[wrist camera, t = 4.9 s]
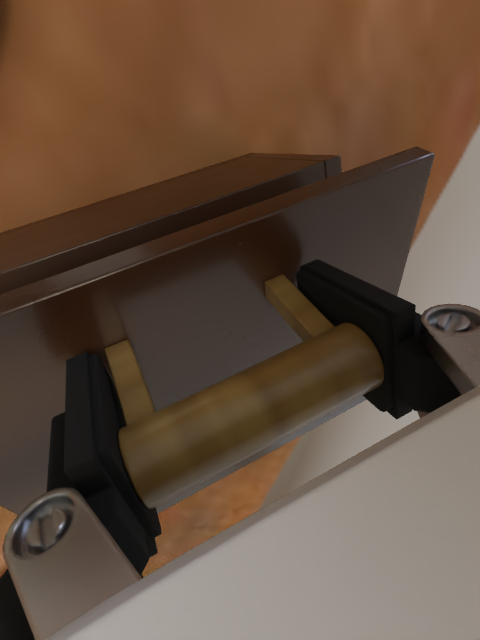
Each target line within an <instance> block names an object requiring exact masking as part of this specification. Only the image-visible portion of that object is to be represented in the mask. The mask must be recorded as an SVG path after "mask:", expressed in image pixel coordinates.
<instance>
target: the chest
mask: <svg viewBox="0 0 480 640" xmlns="http://www.w3.org/2000/svg"><path fill="white" fill-rule="evenodd" d="M340 173H342V169H341V157H340V156H335V155H302V154H270V153H250V154H246V155H243V156H240V157H237V158H234V159H231V160H228V161H225V162H221V163H218V164H215V165H212V166H209V167H206V168H203V169H199V170H196V171H193V172H190V173H187V174H184V175H181V176H178V177H174V178H171V179H168V180H165V181H162V182H159V183H156V184H152V185H149V186H146V187H143V188H140V189H137V190H134V191H130V192H127V193H124V194H121V195H118V196H115V197H112V198H109V199H105V200H102V201H99V202H96V203H93V204H90V205H87V206H83V207H80V208H77V209H74V210H71V211H68V212H65V213H62V214H58V215H55V216H52V217H49V218H46V219H43V220H40V221H36V222H33V223H30V224H27V225H24V226H21V227H18V228H14V229H11V230H8V231H5V232H2V233H0V295H2V294H4V293H7V292H10V291H13V290H16V289H18V288H21V287H24V286H27V285H30V284H32V283H35V282H38V281H41V280H44V279H46V278H49V277H52V276H55V275H58V274H60V273H63V272H66V271H69V270H72V269H74V268H77V267H80V266H83V265H86V264H88V263H91V262H94V261H97V260H100V259H102V258H105V257H108V256H111V255H114V254H116V253H119V252H122V251H125V250H128V249H130V248H133V247H136V246H139V245H142V244H144V243H147V242H150V241H153V240H156V239H158V238H161V237H164V236H167V235H170V234H172V233H175V232H178V231H181V230H184V229H186V228H189V227H192V226H195V225H198V224H200V223H203V222H206V221H209V220H212V219H214V218H217V217H220V216H223V215H226V214H228V213H231V212H234V211H237V210H240V209H242V208H245V207H248V206H251V205H254V204H256V203H259V202H262V201H265V200H268V199H270V198H273V197H276V196H279V195H282V194H284V193H287V192H290V191H293V190H295V189H298V188H301V187H304V186H307V185H309V184H312V183H315V182H318V181H321V180H323V179H326V178H329V177H332V176H335V175H337V174H340Z"/></svg>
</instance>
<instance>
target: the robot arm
mask: <svg viewBox="0 0 480 640" xmlns="http://www.w3.org/2000/svg"><path fill="white" fill-rule="evenodd" d="M296 280H297V287H298V290H299V291H300V292H301V293H302V294H303V295H304V296H305V297H306V298H307V299H308V300H309V301H310V302H311V303H312V304H313V305H314V306H315V307H316V308H317V309H318V310H319V311H320V312H321V313H322V314H323V315H324V316H325V317H326V318H327V319H328V320H329V321H330V322H331V323H332V324H333V325H334V326H337V325H339V324H341V323H352V324H355V325H356V326H358V327H359V328H361V329H362V330H363V331H364V332H365V333H366V334H367V335H368V336H369V337H370V338H371V340H372V341H373V343H374V344H375V346H376V347H377V349H378V351H379V353H380V356H381V358H382V361H383V365H384V372H385V375H384V380H383V382H382V384H381V385H380V386H379V387H377V388H375V389H374V390H372V391H370V392H368V393H366V394H364V395H363V396H364V397H365V398H366V399H367V400H368V401H370V402H371V403H372V404H373V405H374V406H375V407H376V408H378V409H379V410H380V411H382V412H385V411H387V412H388V413H390V414H391V415H392V416H393V417H394V418H396V419H398V418H400V417H402V416H404V415H405V414H407V413H409V412H411V411H412V409H413V410H414V411H418V414H419V417H420V419H419V420H417V421H415V422H413V423H411V424H410V425H408V426H406V427H404V428H403V429H401V430H399V431H397V432H396V433H394V434H392V435H390V436H389V437H387V438H385V439H383V440H381V441H380V442H378V443H376V444H374V445H373V446H371V447H369V448H367V449H365V450H364V451H362V452H360V453H358V454H357V455H355V456H353V457H352V458H350V459H348V460H346V461H344V462H343V463H341V464H339V465H337V466H336V467H334V468H332V469H330V470H329V471H327V472H325V473H323V474H322V475H320V476H318V477H316V478H315V479H313V480H311V481H309V482H308V483H306V484H304V485H302V486H301V487H299V488H297V489H295V490H294V491H292V492H290V493H288V494H287V495H285V496H283V497H282V498H280V499H278V500H276V501H275V502H273V503H271V504H269V505H268V506H266V507H264V508H262V509H261V510H259V511H257V512H255V513H254V514H252V515H250V516H248V517H247V518H245V519H243V520H241V521H240V522H238V523H236V524H234V525H233V526H231V527H229V528H228V529H226V530H224V531H222V532H221V533H219V534H217V535H215V536H214V537H212V538H210V539H208V540H207V541H205V542H203V543H201V544H200V545H198V546H196V547H195V548H193V549H191V550H189V551H188V552H186V553H184V554H182V555H181V556H179V557H177V558H176V559H174V560H172V561H171V562H169V563H167V564H166V565H164V566H162V567H161V568H159V569H157V570H156V571H154V572H152V573H151V574H149V575H147V576H146V577H143V576H142V572H143V570H144V568H145V566H146V564H147V562H148V560H149V557H151V556H153V555H155V554H157V553H158V552H157V547H156V542H155V537H157V536H159V535H160V534H161V527H160V523H159V518H158V514H157V510H156V507H155V508H153V509H147V508H146V507H145V506H144V505H143V504H142V502H141V501H140V499H139V498H138V496H137V494H136V492H135V490H134V488H133V486H132V484H131V482H130V479H129V477H128V474H127V472H126V469H125V466H124V463H123V460H122V457H121V453H120V449H119V445H118V431H119V430H120V429H121V428H123V427H125V426H126V423H125V420H124V416H123V413H122V409H121V406H120V402H119V399H118V396H117V392H116V389H115V385H114V383H113V381H112V379H111V377H110V375H109V373H108V371H107V370H106V368H105V366H104V364H103V362H102V360H101V358H100V357H99V355H98V354H94V355H92V356H91V355H90V354H89V353H88V352H85V353H83V354H80V355H78V356H75V357H73V358H70V359H68V360H66V393H65V412H64V413H61V414H59V415H57V416H54V417H53V418H52V422H51V434H50V448H49V462H48V477H47V491H46V493H44V494H42V495H41V496H39V497H38V498H36V499H35V500H33V501H32V502H31V503H30V504H29V505H28V506H26V507H25V508H24V509H23V510H22V511H21V512H20V513H19V515H18V516H17V517H16V519H15V520H14V521H13V522H12V524H11V526H10V528H9V530H8V532H7V534H6V535H5V540H4V544H3V556H4V560H5V562H6V565H7V567H8V569H7V570H6V572H5V573H4V574H3V575H2V577H1V578H0V640H480V311H479V310H478V309H475V308H473V307H470V306H466V305H460V304H445V305H444V304H443V305H437V306H434V307H431V308H429V309H427V310H426V311H424V313H423V314H422V315H420V314H418V313H416V312H415V305H414V304H412V303H410V302H408V301H406V300H404V299H402V298H399V297H397V296H395V295H393V294H391V293H389V292H387V291H385V290H383V289H380V288H378V287H376V286H374V285H372V284H370V283H368V282H366V281H363V280H361V279H359V278H357V277H355V276H353V275H351V274H349V273H346V272H344V271H342V270H340V269H338V268H336V267H334V266H332V265H329V264H327V263H325V262H323V261H321V260H318V259H316V260H314V261H311V262H309V263H306V264H304V265H301V266H300V269H299V271H298V272H297V273H296Z"/></svg>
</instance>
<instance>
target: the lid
mask: <svg viewBox="0 0 480 640" xmlns="http://www.w3.org/2000/svg"><path fill="white" fill-rule="evenodd" d="M434 156H435V154H434V153H432V152H430V151H427V150H425V149H422V148H419V147H413V148H410V149H407V150H405V151H402V152H399V153H396V154H393V155H391V156H388V157H385V158H382V159H379V160H377V161H374V162H371V163H368V164H365V165H363V166H360V167H357V168H354V169H351V170H349V171H346V172H343V173H340V174H337V175H335V176H332V177H329V178H326V179H323V180H321V181H318V182H315V183H312V184H309V185H307V186H304V187H301V188H298V189H295V190H293V191H290V192H287V193H284V194H282V195H279V196H276V197H273V198H270V199H268V200H265V201H262V202H259V203H256V204H254V205H251V206H248V207H245V208H242V209H240V210H237V211H234V212H231V213H228V214H226V215H223V216H220V217H217V218H214V219H212V220H209V221H206V222H203V223H200V224H198V225H195V226H192V227H189V228H186V229H184V230H181V231H178V232H175V233H172V234H170V235H167V236H164V237H161V238H158V239H156V240H153V241H150V242H147V243H144V244H142V245H139V246H136V247H133V248H130V249H128V250H125V251H122V252H119V253H116V254H114V255H111V256H108V257H105V258H102V259H100V260H97V261H94V262H91V263H88V264H86V265H83V266H80V267H77V268H74V269H72V270H69V271H66V272H63V273H60V274H58V275H55V276H52V277H49V278H46V279H44V280H41V281H38V282H35V283H32V284H30V285H27V286H24V287H21V288H18V289H16V290H13V291H10V292H7V293H4V294H2V295H0V506H2V507H4V508H6V509H8V510H9V511H11V512H13V513H15V514H17V515H19V513H20V512H21V511H22V510H23V509H24V508H25V507H26V506H28V505H29V504H30V503H31V502H32V501H33V500H35V499H36V498H38V497H39V496H41V495H42V494H44V493H46V491H47V477H48V462H49V448H50V434H51V422H52V418H53V417H54V416H57V415H59V414H61V413H64V412H65V393H66V360H68V359H70V358H73V357H75V356H78V355H80V354H83V353H85V352H88V353H89V354H90V355H91V356H92V355H94V354H98V355H99V357H100V358H101V360H102V362H103V364H104V366H105V368H106V370H107V371H108V373H109V375H110V377H111V379H112V381H113V383H114V385H115V389H116V392H117V396H118V399H119V402H120V406H121V409H122V413H123V416H124V420H125V423H126V426H125V427H123V428H121V429H120V430H119V431H118V445H119V449H120V453H121V457H122V460H123V463H124V466H125V469H126V472H127V474H128V477H129V479H130V482H131V484H132V486H133V488H134V490H135V492H136V494H137V496H138V498H139V499H140V501H141V502H142V504H143V505H144V506H145V507H146V508H147V509H153V508H155V507H156V510H157V514H158V513H159V512H161V511H163V510H165V509H167V508H169V507H170V506H172V505H174V504H176V503H178V502H180V501H181V500H183V499H185V498H187V497H189V496H191V495H192V494H194V493H196V492H198V491H200V490H202V489H203V488H205V487H207V486H209V485H211V484H213V483H214V482H216V481H218V480H220V479H222V478H224V477H225V476H227V475H229V474H231V473H233V472H235V471H236V470H238V469H240V468H242V467H244V466H246V465H247V464H249V463H251V462H253V461H255V460H257V459H258V458H260V457H262V456H264V455H266V454H268V453H269V452H271V451H273V450H275V449H277V448H279V447H280V446H282V445H284V444H286V443H288V442H290V441H291V440H293V439H295V438H297V437H299V436H301V435H302V434H304V433H306V432H308V431H310V430H312V429H313V428H315V427H317V426H319V425H321V424H323V423H324V422H326V421H328V420H330V419H332V418H334V417H335V416H337V415H339V414H341V413H343V412H345V411H346V410H348V409H350V408H352V407H354V406H356V405H357V404H359V403H361V402H363V401H365V400H367V399H366V398H365V397H364V396H363V395H364V394H366V393H368V392H370V391H372V390H374V389H375V388H377V387H379V386H380V385H381V384H382V382H383V380H384V375H385V372H384V365H383V361H382V358H381V356H380V353H379V351H378V349H377V347H376V346H375V344H374V343H373V341H372V340H371V338H370V337H369V336H368V335H367V334H366V333H365V332H364V331H363V330H362V329H361V328H359V327H358V326H356V325H355V324H352V323H341V324H339V325H337V326H334V325H333V324H332V323H331V322H330V321H329V320H328V319H327V318H326V317H325V316H324V315H323V314H322V313H321V312H320V311H319V310H318V309H317V308H316V307H315V306H314V305H313V304H312V303H311V302H310V301H309V300H308V299H307V298H306V297H305V296H304V295H303V294H302V293H301V292H300V291H299V290H298V287H297V280H296V273H297V272H298V271H299V269H300V266H301V265H304V264H306V263H309V262H311V261H314V260H316V259H318V260H321V261H323V262H325V263H327V264H329V265H332V266H334V267H336V268H338V269H340V270H342V271H344V272H346V273H349V274H351V275H353V276H355V277H357V278H359V279H361V280H363V281H366V282H368V283H370V284H372V285H374V286H376V287H378V288H380V289H383V290H385V291H387V292H389V293H391V294H393V295H395V296H397V294H398V291H399V287H400V283H401V279H402V275H403V272H404V268H405V264H406V261H407V257H408V253H409V249H410V246H411V242H412V238H413V235H414V231H415V227H416V223H417V220H418V216H419V212H420V208H421V205H422V201H423V197H424V193H425V190H426V186H427V182H428V179H429V175H430V171H431V167H432V164H433V160H434Z"/></svg>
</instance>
